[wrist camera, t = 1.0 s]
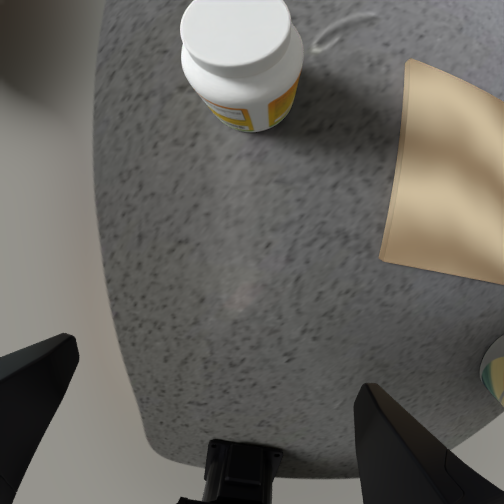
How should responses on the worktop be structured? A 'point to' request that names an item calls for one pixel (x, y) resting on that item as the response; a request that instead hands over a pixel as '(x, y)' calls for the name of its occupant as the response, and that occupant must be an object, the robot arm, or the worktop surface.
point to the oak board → (448, 178)
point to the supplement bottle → (242, 60)
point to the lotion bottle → (494, 370)
